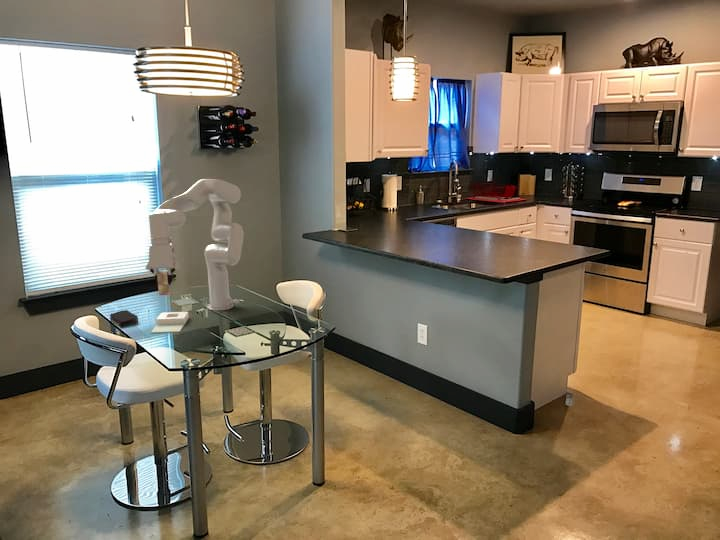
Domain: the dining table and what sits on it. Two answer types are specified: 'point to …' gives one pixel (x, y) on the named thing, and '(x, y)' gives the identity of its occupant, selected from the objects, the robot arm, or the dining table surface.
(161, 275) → the plug
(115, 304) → the dining table surface
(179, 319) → the socket block
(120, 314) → the black sponge
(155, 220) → the robot arm
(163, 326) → the mat
